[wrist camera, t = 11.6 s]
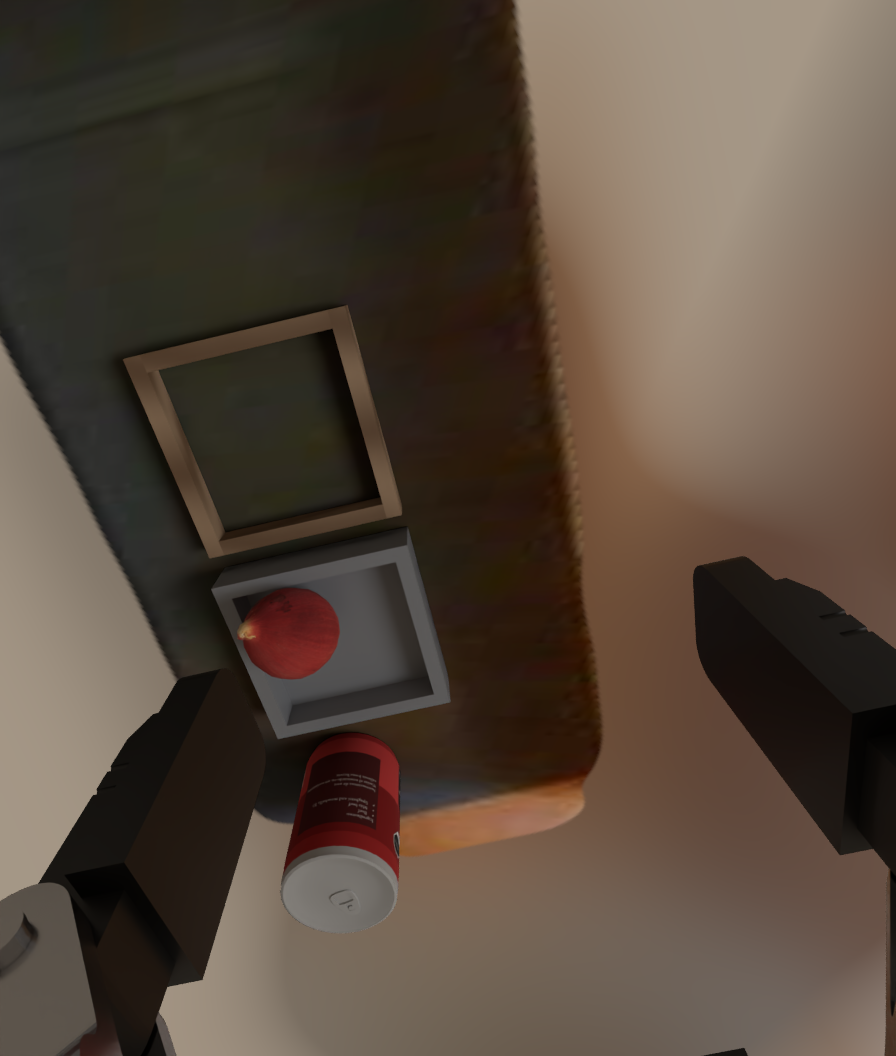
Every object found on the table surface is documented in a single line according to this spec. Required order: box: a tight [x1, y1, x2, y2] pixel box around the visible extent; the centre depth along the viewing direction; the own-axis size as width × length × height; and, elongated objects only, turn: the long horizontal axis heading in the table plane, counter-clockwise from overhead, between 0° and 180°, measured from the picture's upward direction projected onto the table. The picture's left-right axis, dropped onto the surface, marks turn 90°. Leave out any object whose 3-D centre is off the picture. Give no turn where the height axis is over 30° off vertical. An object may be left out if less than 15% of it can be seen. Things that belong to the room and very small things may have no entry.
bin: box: [211, 526, 450, 739], centre depth 41 cm, size 13×13×3 cm
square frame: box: [123, 305, 402, 558], centre depth 36 cm, size 13×13×2 cm
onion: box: [237, 588, 340, 680], centre depth 37 cm, size 6×6×8 cm
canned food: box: [280, 733, 400, 933], centre depth 43 cm, size 8×8×11 cm
